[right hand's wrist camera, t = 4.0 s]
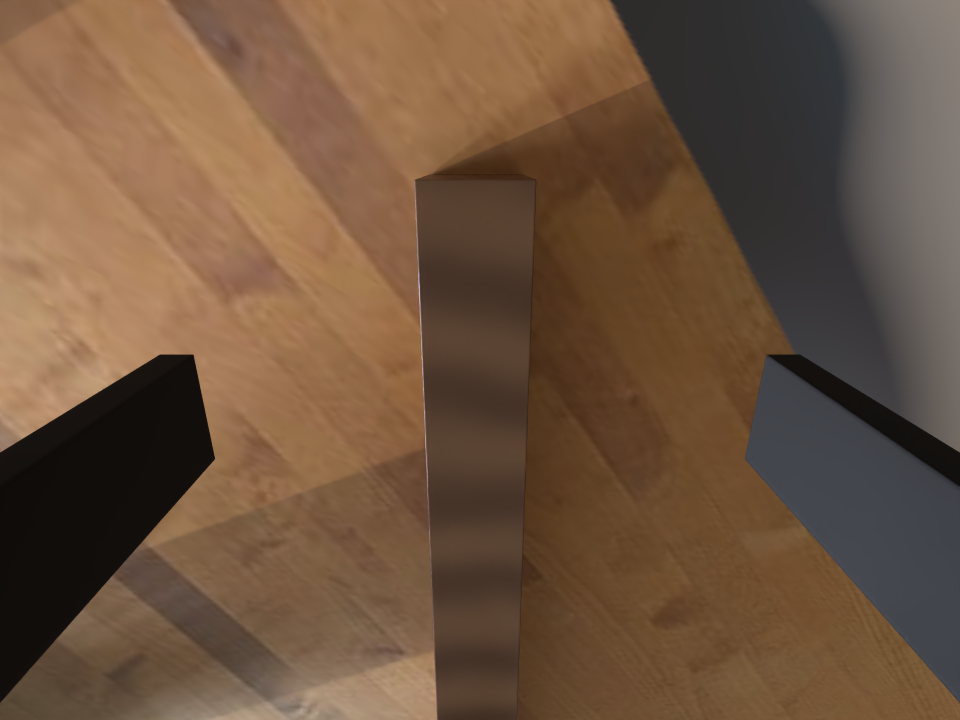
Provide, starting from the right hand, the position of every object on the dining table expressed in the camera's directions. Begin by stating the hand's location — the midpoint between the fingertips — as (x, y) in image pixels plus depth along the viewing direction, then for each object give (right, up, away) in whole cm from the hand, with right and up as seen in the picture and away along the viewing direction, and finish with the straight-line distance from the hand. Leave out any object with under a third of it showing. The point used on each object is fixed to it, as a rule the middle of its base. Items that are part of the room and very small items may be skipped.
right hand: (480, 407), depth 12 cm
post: (0, -17, +32) cm, 37 cm away
